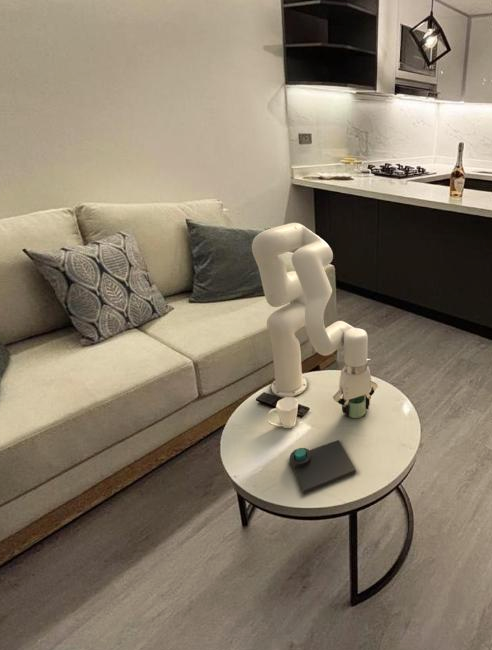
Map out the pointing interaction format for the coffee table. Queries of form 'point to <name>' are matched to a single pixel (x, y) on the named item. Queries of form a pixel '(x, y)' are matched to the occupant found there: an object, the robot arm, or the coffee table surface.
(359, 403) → the green handleless cup
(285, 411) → the cup
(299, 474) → the scale
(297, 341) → the robot arm
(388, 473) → the coffee table surface
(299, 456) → the tare button
